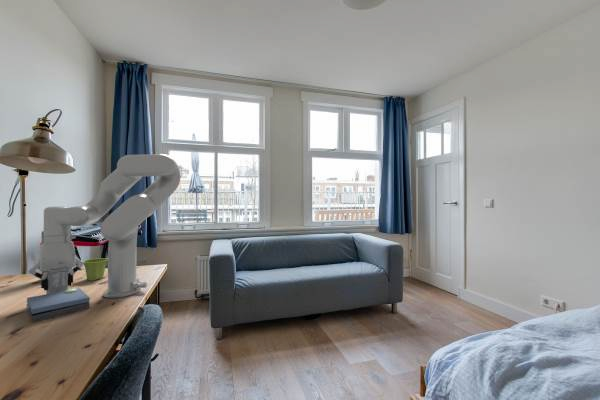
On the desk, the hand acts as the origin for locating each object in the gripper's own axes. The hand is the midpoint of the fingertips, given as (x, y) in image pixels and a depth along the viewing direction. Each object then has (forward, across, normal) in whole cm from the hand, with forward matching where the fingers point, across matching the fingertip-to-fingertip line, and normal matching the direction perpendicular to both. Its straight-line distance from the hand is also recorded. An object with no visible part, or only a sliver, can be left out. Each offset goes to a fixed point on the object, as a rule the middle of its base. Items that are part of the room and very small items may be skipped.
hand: (57, 286), depth 99 cm
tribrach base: (+5, +2, +12) cm, 13 cm away
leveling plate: (+2, +1, +12) cm, 12 cm away
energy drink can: (+5, 0, 0) cm, 5 cm away
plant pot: (+5, -16, -20) cm, 26 cm away
